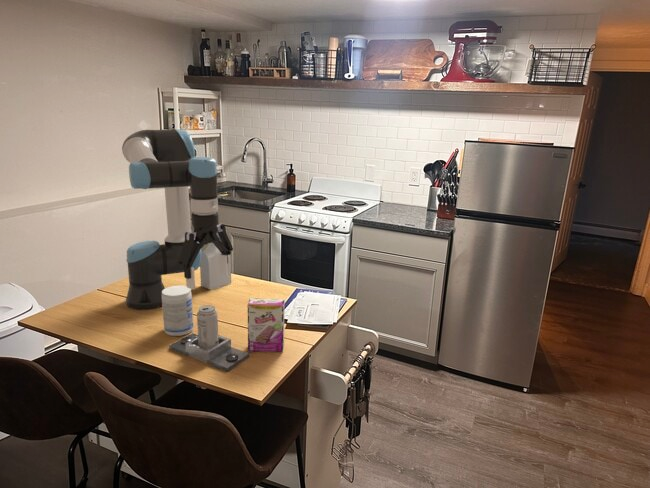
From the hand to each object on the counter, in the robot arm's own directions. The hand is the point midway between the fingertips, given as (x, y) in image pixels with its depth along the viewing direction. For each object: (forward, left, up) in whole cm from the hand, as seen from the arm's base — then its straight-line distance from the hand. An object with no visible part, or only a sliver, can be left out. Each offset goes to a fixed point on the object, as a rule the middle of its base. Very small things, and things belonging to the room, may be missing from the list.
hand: (207, 281), depth 141 cm
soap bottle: (-36, +41, -23) cm, 60 cm away
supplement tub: (-18, +3, -23) cm, 30 cm away
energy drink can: (+1, -2, -23) cm, 23 cm away
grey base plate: (+1, -2, -23) cm, 23 cm away
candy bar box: (+14, +10, -23) cm, 29 cm away
